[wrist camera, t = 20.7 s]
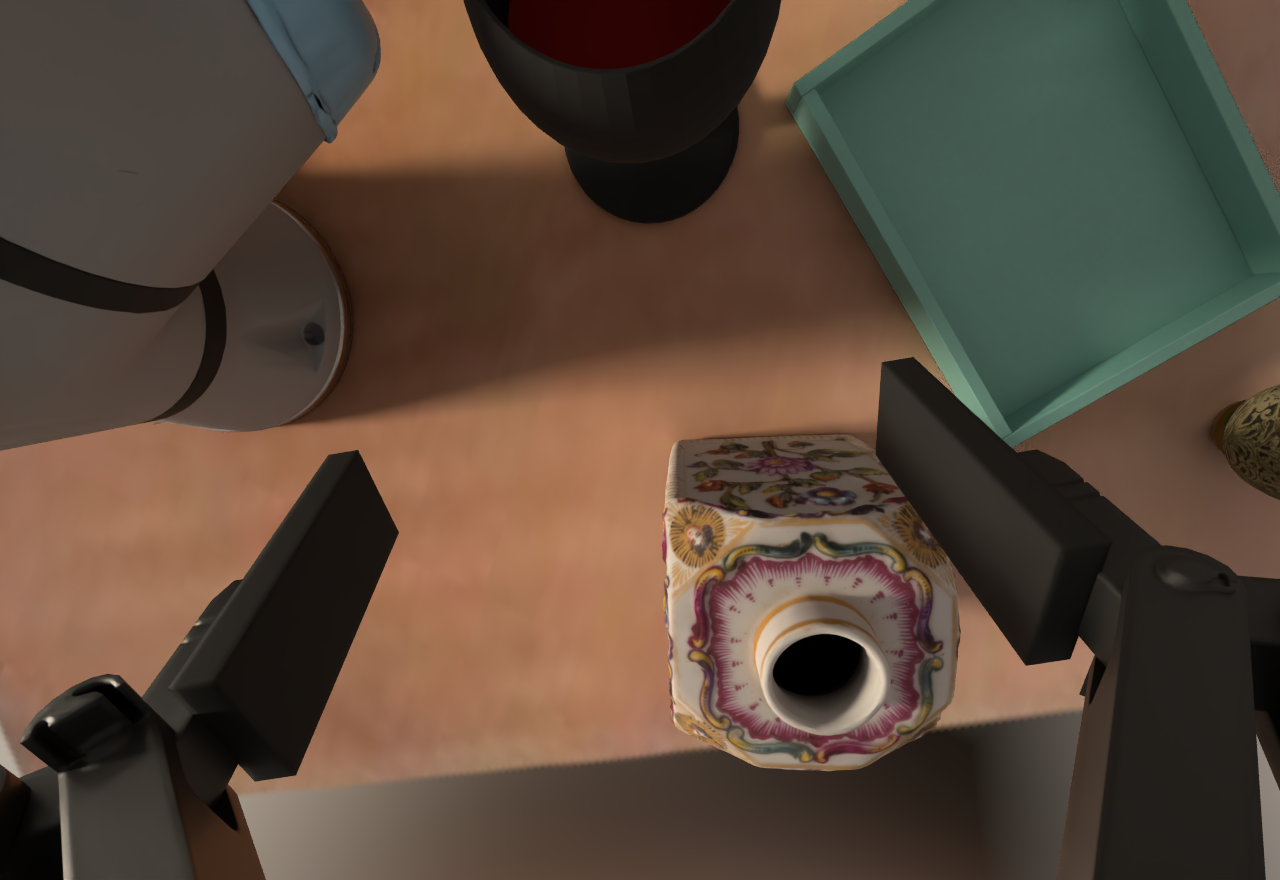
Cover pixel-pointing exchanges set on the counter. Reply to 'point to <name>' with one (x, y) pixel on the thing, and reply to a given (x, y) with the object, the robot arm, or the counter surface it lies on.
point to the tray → (1047, 191)
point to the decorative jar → (802, 603)
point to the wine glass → (632, 89)
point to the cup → (1252, 439)
